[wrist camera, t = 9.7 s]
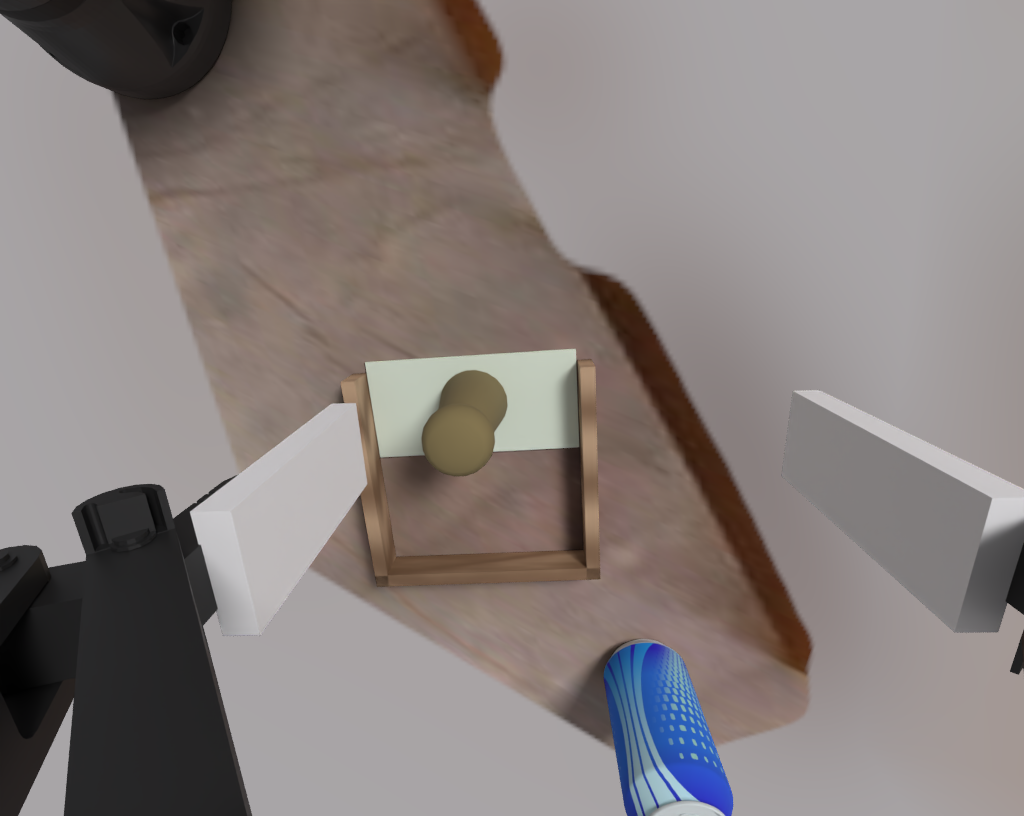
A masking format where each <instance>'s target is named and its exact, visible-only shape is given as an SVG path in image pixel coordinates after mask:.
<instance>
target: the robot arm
mask: <svg viewBox="0 0 1024 816" xmlns="http://www.w3.org/2000/svg"><path fill="white" fill-rule="evenodd" d="M0 14H2V15H3V16H4V17H5V18H7V19H8V20H9V21H10V22H12V23H13V24H14V25H15V26H17V27H18V28H19V29H20V30H22V31H23V32H24V33H25V34H27V35H28V36H29V37H31V38H32V39H33V40H34V41H35V42H37V43H38V44H39V45H40V46H41V47H42V48H43V49H44V50H45V51H46V52H47V53H49V54H50V55H51V56H52V57H53V58H54V59H55V60H56V61H58V62H59V63H60V64H61V65H63V66H64V67H65V68H67V69H69V70H70V71H72V72H73V73H75V74H76V75H78V76H80V77H82V78H84V79H85V80H87V81H89V82H92V83H94V84H96V85H99V86H101V87H104V88H106V89H109V90H111V91H114V92H117V93H119V94H122V95H126V96H129V97H134V98H142V99H158V98H164V97H169V96H172V95H175V94H178V93H180V92H182V91H184V90H186V89H188V88H190V87H191V86H193V85H194V84H195V83H197V82H198V81H199V80H200V79H201V78H202V77H203V76H204V75H205V74H206V73H207V72H208V71H209V69H210V68H211V67H212V65H213V64H214V62H215V61H216V59H217V57H218V55H219V53H220V51H221V49H222V47H223V44H224V42H225V39H226V35H227V32H228V27H229V22H230V15H231V0H0ZM781 476H782V477H783V478H784V479H785V480H786V481H787V482H788V483H790V484H791V485H792V486H793V487H794V488H795V489H796V490H797V491H799V492H800V493H801V494H802V495H803V496H804V497H805V498H806V499H807V500H808V501H809V502H811V503H812V504H813V505H814V506H815V507H816V508H817V509H818V510H820V511H821V512H822V513H823V514H824V515H825V516H826V517H827V518H828V519H830V520H831V521H832V522H833V523H834V524H835V525H836V526H837V527H839V529H841V530H842V531H843V532H844V533H845V534H846V535H847V536H848V537H849V538H850V539H852V540H853V541H854V542H855V543H856V544H857V545H858V546H859V547H860V548H862V549H863V550H864V551H865V552H866V553H867V554H868V555H869V556H871V557H872V558H873V559H874V560H875V561H876V562H877V563H878V564H879V565H880V566H881V567H883V568H884V569H885V570H886V571H887V572H888V573H889V574H890V575H892V576H893V577H894V578H895V579H896V580H897V581H898V582H899V583H900V584H902V585H903V586H904V587H905V588H906V589H907V590H908V591H909V592H910V593H911V594H913V595H914V596H915V597H916V598H917V599H918V600H919V601H920V602H922V604H924V605H925V606H926V607H927V608H928V609H929V610H930V611H931V612H932V613H934V614H935V615H936V616H937V617H938V618H939V619H940V620H941V621H943V622H944V623H945V624H946V625H947V626H948V627H949V628H950V629H951V630H953V631H954V632H998V631H999V628H1000V625H1001V622H1002V618H1003V615H1004V612H1005V609H1006V606H1007V603H1009V604H1010V605H1011V606H1013V607H1014V608H1015V609H1017V610H1018V611H1020V612H1021V613H1022V614H1023V615H1024V489H1022V488H1020V487H1018V486H1016V485H1014V484H1012V483H1010V482H1008V481H1006V480H1004V479H1002V478H1000V477H998V476H996V475H993V474H992V473H989V472H987V471H985V470H983V469H981V468H979V467H977V466H975V465H973V464H971V463H969V462H967V461H965V460H963V459H960V458H958V457H956V456H954V455H952V454H950V453H948V452H946V451H944V450H942V449H940V448H938V447H936V446H933V445H932V444H930V443H927V442H925V441H923V440H921V439H919V438H917V437H915V436H913V435H911V434H909V433H907V432H905V431H903V430H901V429H898V428H897V427H894V426H892V425H890V424H888V423H886V422H884V421H882V420H880V419H878V418H876V417H874V416H871V415H870V414H868V413H865V412H863V411H861V410H859V409H857V408H855V407H853V406H851V405H849V404H847V403H845V402H843V401H841V400H838V399H837V398H835V397H832V396H830V395H828V394H826V393H824V392H822V391H820V390H810V391H793V394H792V400H791V408H790V415H789V423H788V430H787V437H786V445H785V453H784V460H783V467H782V474H781ZM366 485H367V478H366V471H365V464H364V457H363V450H362V443H361V436H360V428H359V421H358V414H357V407H356V403H341V404H331V405H329V406H328V407H327V408H325V409H324V410H323V411H321V412H320V413H319V414H317V415H316V416H315V417H314V418H312V419H311V420H310V421H308V422H307V423H306V424H304V425H303V426H302V427H300V428H299V429H298V430H296V431H295V432H294V433H293V434H291V435H290V436H289V437H287V438H286V439H285V440H283V441H282V442H281V443H279V444H278V445H277V446H275V447H274V448H273V449H272V450H270V451H269V452H268V453H266V454H265V455H264V456H262V457H261V458H260V459H258V460H257V461H256V462H254V463H253V464H252V465H251V466H249V467H248V468H247V469H245V470H244V471H243V472H241V473H240V474H238V475H236V476H234V477H232V478H230V479H227V480H225V481H223V482H222V483H220V484H219V485H218V486H216V487H215V488H214V489H212V490H211V491H210V492H209V494H206V495H204V496H203V497H202V498H200V499H199V500H198V501H197V503H194V504H192V505H191V506H190V507H188V508H187V509H185V510H184V511H183V512H181V513H180V514H179V515H177V516H176V517H175V518H174V519H173V518H172V514H171V510H170V507H169V503H168V500H167V496H166V492H165V489H164V488H163V487H161V486H160V485H155V484H141V485H133V486H128V487H123V488H118V489H115V490H112V491H108V492H105V493H102V494H100V495H97V496H95V497H93V498H90V499H88V500H86V501H85V502H83V503H81V504H80V505H78V506H77V507H76V508H75V509H74V511H73V512H72V516H73V519H74V521H75V524H76V527H77V530H78V533H79V536H80V539H81V542H82V545H83V547H84V550H85V553H86V561H83V562H77V563H72V564H67V565H61V566H55V567H50V568H48V566H47V563H46V561H45V558H44V555H43V553H42V550H41V549H40V548H38V547H37V546H29V545H23V546H16V547H8V548H4V549H1V550H0V816H18V815H19V813H20V810H21V808H22V806H23V804H24V802H25V800H26V798H27V795H28V794H29V791H30V789H31V787H32V785H33V783H34V781H35V779H36V777H37V774H38V772H39V770H40V768H41V766H42V764H43V761H44V759H45V757H46V755H47V753H48V751H49V749H50V747H51V745H52V743H53V741H54V738H55V736H56V734H57V732H58V730H59V728H60V726H61V724H62V721H63V719H64V717H65V715H66V713H67V711H68V709H69V707H70V705H71V702H72V700H73V698H74V704H73V716H72V727H71V739H70V750H69V762H68V774H67V785H66V797H65V808H64V816H252V813H251V809H250V805H249V802H248V798H247V794H246V790H245V787H244V782H243V778H242V775H241V771H240V767H239V763H238V759H237V755H236V752H235V747H234V744H233V740H232V736H231V732H230V728H229V724H228V720H227V716H226V713H225V709H224V705H223V701H222V697H221V693H220V689H219V686H218V682H217V678H216V674H215V670H214V666H213V663H212V659H211V655H210V651H209V647H208V643H207V639H206V636H205V632H204V629H203V625H204V624H205V623H206V622H207V620H208V619H209V618H210V617H211V616H212V615H213V614H214V613H215V611H216V612H217V616H218V619H219V623H220V627H221V631H222V634H223V636H253V635H254V636H258V635H259V636H260V635H261V634H262V633H263V631H264V630H265V629H266V627H267V626H268V624H269V623H270V621H271V620H272V619H273V617H274V616H275V614H276V613H277V612H278V610H279V609H280V607H281V606H282V604H283V603H284V601H285V600H286V599H287V597H288V596H289V595H290V593H291V592H292V590H293V589H294V587H295V586H296V585H297V583H298V582H299V580H300V579H301V578H302V576H303V574H304V573H305V571H306V570H307V569H308V568H309V566H310V565H311V563H312V562H313V561H314V559H315V558H316V556H317V555H318V553H319V552H320V551H321V549H322V548H323V546H324V545H325V544H326V542H327V541H328V539H329V538H330V536H331V535H332V534H333V532H334V531H335V529H336V528H337V526H338V525H339V524H340V522H341V521H342V519H343V518H344V517H345V515H346V514H347V512H348V511H349V509H350V508H351V507H352V505H353V504H354V502H355V501H356V500H357V498H358V497H359V495H360V494H361V492H362V491H363V490H364V488H365V487H366ZM1022 668H1024V631H1023V634H1022V637H1021V640H1020V643H1019V646H1018V649H1017V652H1016V655H1015V658H1014V661H1013V664H1012V667H1011V670H1010V672H1013V673H1016V674H1019V673H1020V671H1021V670H1022Z"/></svg>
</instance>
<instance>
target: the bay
mask: <svg viewBox="0 0 1024 816" xmlns="http://www.w3.org/2000/svg"><path fill="white" fill-rule="evenodd" d="M577 371H578V400H579V429H580V458H581V487H582V515H583V544H584V550H566V551H539V552H513V553H486V554H460V555H433V556H407V557H396V553H395V547H394V541H393V534H392V528H391V522H390V516H389V510H388V504H387V497H386V491H385V485H384V479H383V473H382V467H381V460H380V454H379V448H378V442H377V436H376V430H375V423H374V417H373V411H372V405H371V399H370V392H369V386H368V380H367V374H366V373H361V374H352V375H351V376H349V377H348V378H346V379H345V380H343V381H342V382H341V388H342V394H343V399H344V403H356V407H357V414H358V421H359V428H360V436H361V443H362V450H363V457H364V464H365V471H366V478H367V485H366V487H365V488H364V490H363V491H362V492H361V500H362V506H363V511H364V517H365V522H366V528H367V534H368V539H369V545H370V550H371V556H372V562H373V567H374V573H375V578H376V584H377V587H385V586H414V585H444V584H473V583H502V582H532V581H561V580H591V579H600V547H599V505H598V463H597V421H596V379H595V365H594V364H593V362H592V360H591V359H587V360H577Z"/></svg>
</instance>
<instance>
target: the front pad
mask: <svg viewBox="0 0 1024 816" xmlns="http://www.w3.org/2000/svg"><path fill="white" fill-rule="evenodd" d="M365 366H366V372H367V378H368V384H369V391H370V397H371V403H372V409H373V415H374V422H375V428H376V434H377V440H378V446H379V452H380V457H399V456H419V455H425V454H424V452H423V448H422V440H421V437H422V432H423V427H424V426H425V424H426V422H427V421H428V419H429V417H430V416H431V415H432V414H433V413H434V412H436V411H437V410H438V408H439V403H440V398H441V393H442V389H443V388H444V386H445V384H446V383H447V381H448V380H449V379H451V378H452V377H453V376H454V375H455V374H458V373H460V372H463V371H466V370H478V371H482V372H486V373H488V374H490V375H491V376H493V377H494V378H496V379H497V380H498V381H499V383H500V384H501V385H502V386H503V388H504V391H505V393H506V395H507V405H508V407H507V411H506V414H505V417H504V418H503V420H502V421H501V423H500V424H499V426H498V427H497V429H496V430H495V432H494V435H495V445H494V449H493V452H497V451H517V450H536V449H556V448H576V447H579V427H578V399H577V370H576V349H563V350H547V351H531V352H516V353H500V354H484V355H468V356H453V357H437V358H421V359H405V360H390V361H374V362H365Z"/></svg>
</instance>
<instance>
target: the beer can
mask: <svg viewBox="0 0 1024 816" xmlns="http://www.w3.org/2000/svg"><path fill="white" fill-rule="evenodd" d="M604 683H605V689H606V696H607V702H608V708H609V714H610V720H611V726H612V732H613V739H614V745H615V751H616V757H617V763H618V769H619V775H620V782H621V788H622V794H623V800H624V806H625V810H626V813H627V816H731V814H732V810H733V796H732V791H731V788H730V786H729V783H728V780H727V777H726V775H725V772H724V769H723V766H722V764H721V762H720V758H719V756H718V753H717V750H716V747H715V745H714V742H713V739H712V736H711V734H710V731H709V728H708V726H707V723H706V720H705V717H704V715H703V712H702V709H701V707H700V704H699V701H698V698H697V696H696V693H695V690H694V687H693V685H692V682H691V679H690V677H689V674H688V671H687V668H686V666H685V663H684V661H683V660H682V658H681V657H680V656H679V655H678V654H677V653H676V652H675V651H674V650H672V649H671V648H669V647H667V646H665V645H664V644H662V643H660V642H658V641H655V640H650V639H637V640H632V641H629V642H627V643H625V644H623V645H621V646H620V647H619V648H618V649H617V650H616V651H615V652H614V653H613V655H612V657H611V658H610V659H609V661H608V662H607V664H606V666H605V670H604Z"/></svg>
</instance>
